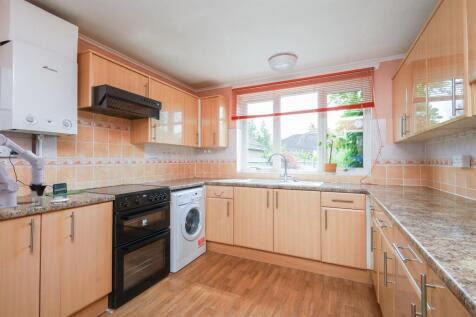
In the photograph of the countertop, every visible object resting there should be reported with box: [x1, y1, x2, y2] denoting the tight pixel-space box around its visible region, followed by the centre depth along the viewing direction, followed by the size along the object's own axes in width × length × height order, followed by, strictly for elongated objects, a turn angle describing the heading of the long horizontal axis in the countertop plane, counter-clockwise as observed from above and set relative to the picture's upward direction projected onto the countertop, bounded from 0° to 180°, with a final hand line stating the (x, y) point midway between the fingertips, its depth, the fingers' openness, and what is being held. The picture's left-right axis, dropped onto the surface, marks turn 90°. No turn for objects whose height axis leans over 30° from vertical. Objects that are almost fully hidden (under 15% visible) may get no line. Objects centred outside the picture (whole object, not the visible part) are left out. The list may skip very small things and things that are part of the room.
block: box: [38, 195, 50, 207], centre depth 139 cm, size 4×4×5 cm
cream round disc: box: [49, 197, 70, 204], centre depth 151 cm, size 13×13×1 cm
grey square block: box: [30, 190, 47, 198], centre depth 150 cm, size 6×6×4 cm
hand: (37, 195), depth 150 cm, fingers closed on grey square block, 6 cm apart
